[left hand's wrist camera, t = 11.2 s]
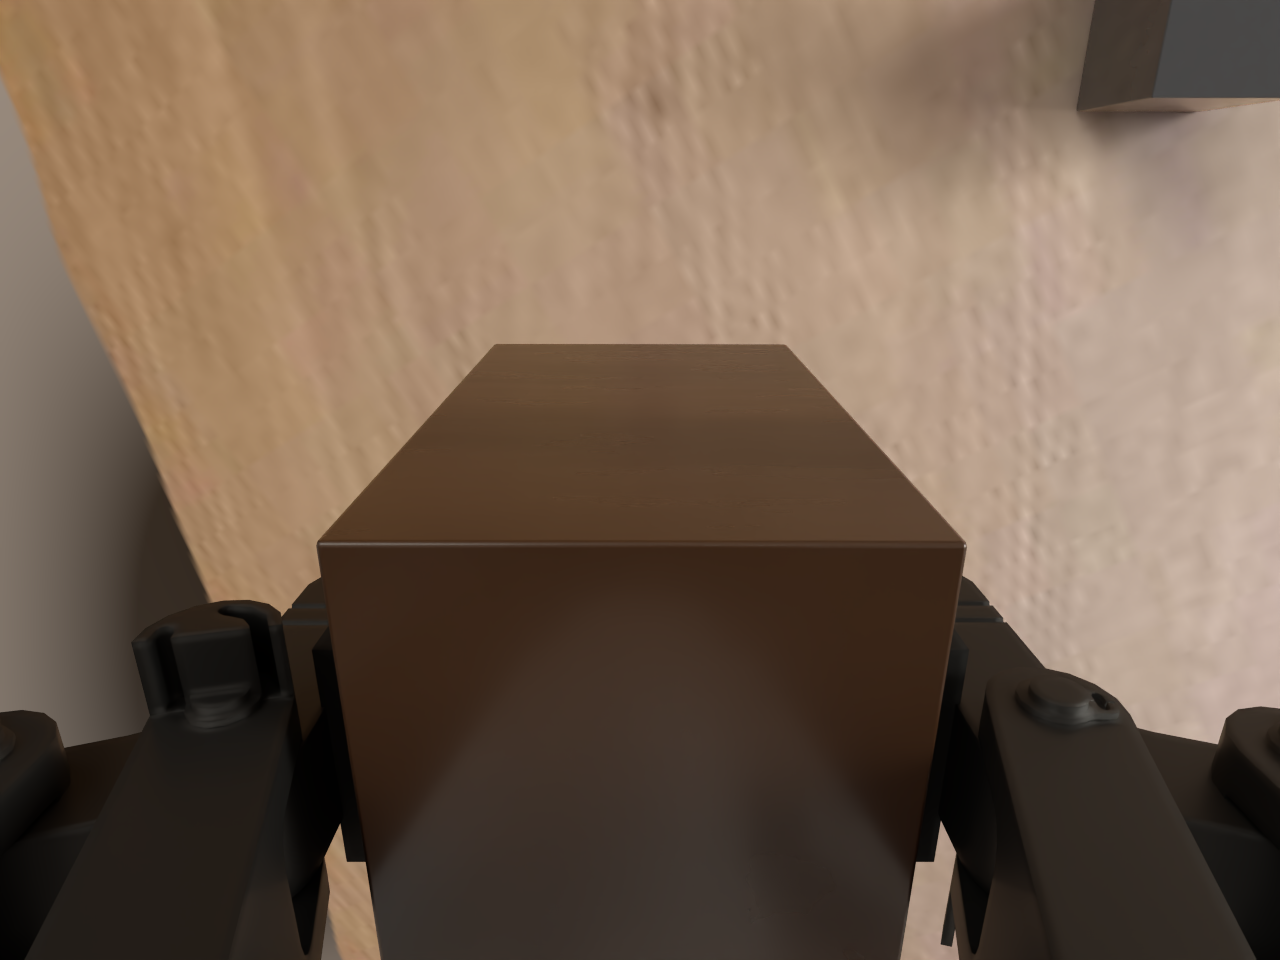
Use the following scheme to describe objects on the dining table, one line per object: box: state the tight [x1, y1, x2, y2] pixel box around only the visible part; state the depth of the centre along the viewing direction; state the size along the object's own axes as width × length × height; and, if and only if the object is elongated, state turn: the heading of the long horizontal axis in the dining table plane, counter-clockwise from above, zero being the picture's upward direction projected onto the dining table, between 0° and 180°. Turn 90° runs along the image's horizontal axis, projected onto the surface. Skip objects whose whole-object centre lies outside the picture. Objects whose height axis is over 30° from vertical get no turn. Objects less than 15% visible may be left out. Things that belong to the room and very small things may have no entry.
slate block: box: [1077, 0, 1280, 112], centre depth 23 cm, size 4×4×4 cm
